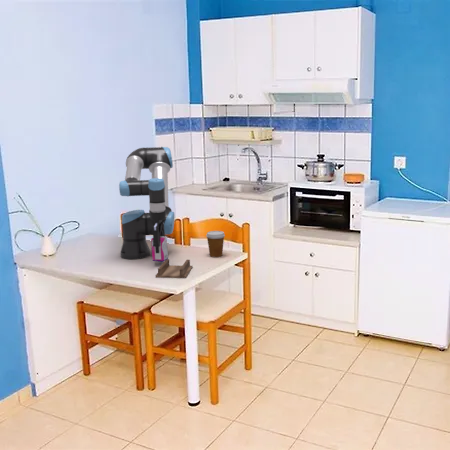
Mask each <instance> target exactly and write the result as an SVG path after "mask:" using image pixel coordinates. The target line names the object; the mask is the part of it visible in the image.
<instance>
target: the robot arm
mask: <svg viewBox="0 0 450 450" xmlns="http://www.w3.org/2000/svg"><path fill="white" fill-rule="evenodd" d="M173 167H174V164H173V156H172V152H171V148H169V147H168V146H161V147H160V146H159V147H155V146H154V147H139V148H137V149H135V150H133V151H132V152H130V154H128V156H127V157H126V161H125V168H126V171H125V176H124V177H125V178H124V180H121V181H119V185H118V188H119V195H120V196H121V197H140V196H142V197H143V196H148V198H149V210H148V211H149V212H146V211H145V210H144V209H134V210H129V211H125V212H124V213H123V214H122V216H121V225H122V229H121V230H122V240H123V241H122V245H121V249H120V257H121V258H122V259H127V260H139V259H140V260H141V259H144V258H148V257H149V256H150V255H151V250H150V246H149V244H148V242H147V236H152V238H153V247H155V259H161V246H160V236H167V235H172V234H173V233H174V232H173V231H174V227H175V212H174V211H173V210H172V209H171V207H170V206H169V181H168V178H169V177H168V173H170V171H171V169H172V168H173ZM142 170H148V171H149V173H151V178H149V179H146V180H145V179H143V180H141V176H142V175H141V174H142Z"/></svg>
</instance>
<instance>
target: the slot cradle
mask: <svg viewBox="0 0 450 450" xmlns="http://www.w3.org/2000/svg"><path fill="white" fill-rule="evenodd" d="M193 268H194V267H193V265H191V260H190V259H186V260H185V261H184V262H183V264H182V265H170V259H169V258H168V259H166V260H165V261H163V262H162V264H161V265H160V266H159V267H158V268H157V273H156V274H155V278H159V279H160V278H163V279H164V278H167V279H187V277H188V275H190V272H191V271H192V270H191V269H193Z"/></svg>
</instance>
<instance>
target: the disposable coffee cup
mask: <svg viewBox="0 0 450 450" xmlns="http://www.w3.org/2000/svg"><path fill="white" fill-rule="evenodd" d="M225 236H226V235H225V232H224V231H222V230H210V231H208V232H207V233H206V235H205V237H206V239H207V245H208V251H209V256H210V257H211V258H219V257H220V258H221V257H222V256H223V252H224V251H223V250H224V242H225Z"/></svg>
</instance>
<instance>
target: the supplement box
mask: <svg viewBox="0 0 450 450" xmlns="http://www.w3.org/2000/svg"><path fill="white" fill-rule="evenodd" d="M150 240H151V241H150V242H151V245H150V246H151V256H152V261H153V262H157V263H163V262H164V261H165V260H166V259H169V255H168V254H169V252H168V238H167V235H165V236H160V246H161V259H155V247H153V237H151V238H150Z"/></svg>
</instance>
